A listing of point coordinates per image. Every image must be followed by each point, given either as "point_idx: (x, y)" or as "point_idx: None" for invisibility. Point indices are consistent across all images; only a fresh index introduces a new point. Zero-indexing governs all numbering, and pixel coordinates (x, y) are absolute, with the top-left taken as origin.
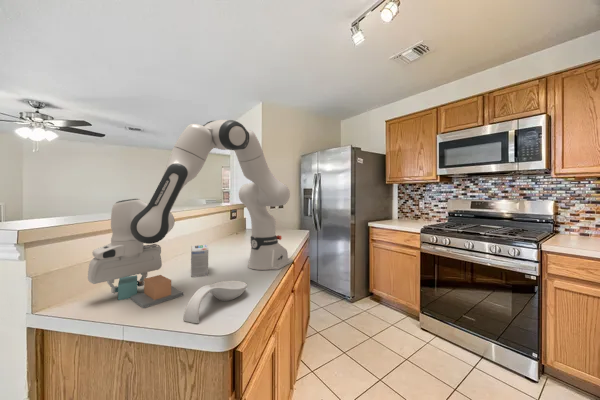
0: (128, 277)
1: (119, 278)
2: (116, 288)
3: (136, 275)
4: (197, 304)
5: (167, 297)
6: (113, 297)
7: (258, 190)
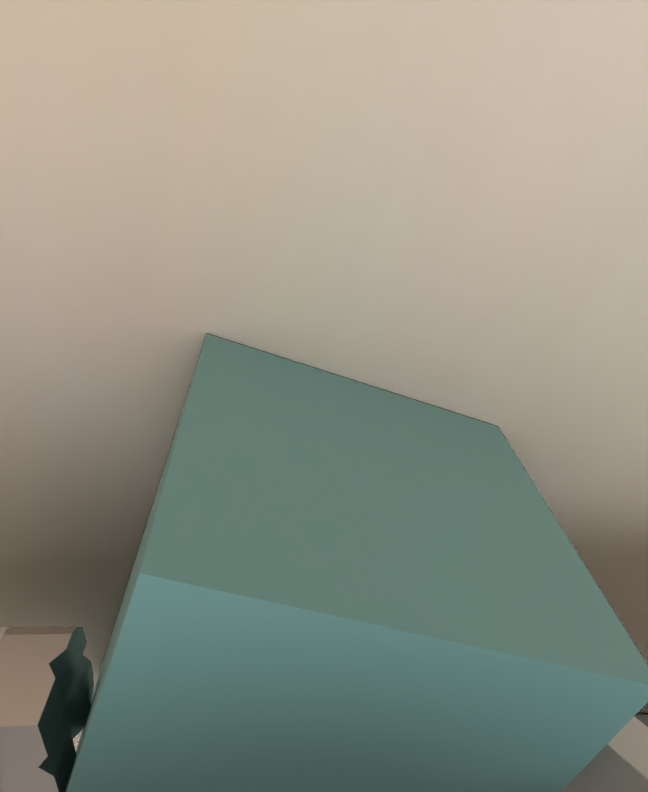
0: (377, 718)
1: (118, 645)
2: (28, 784)
3: (633, 693)
4: None
5: None
6: (56, 535)
7: None
